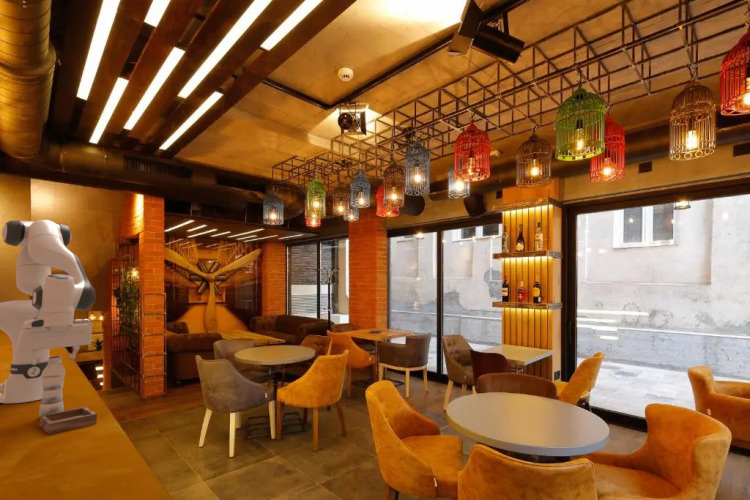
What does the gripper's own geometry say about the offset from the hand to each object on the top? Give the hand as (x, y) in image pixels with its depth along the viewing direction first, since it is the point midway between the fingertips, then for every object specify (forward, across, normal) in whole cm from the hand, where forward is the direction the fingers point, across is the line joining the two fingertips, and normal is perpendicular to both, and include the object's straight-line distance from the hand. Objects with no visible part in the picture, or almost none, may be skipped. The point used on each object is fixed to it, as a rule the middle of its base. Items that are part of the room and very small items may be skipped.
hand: (55, 361), depth 134 cm
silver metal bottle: (+19, 0, -1) cm, 19 cm away
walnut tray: (+19, -2, +13) cm, 23 cm away
